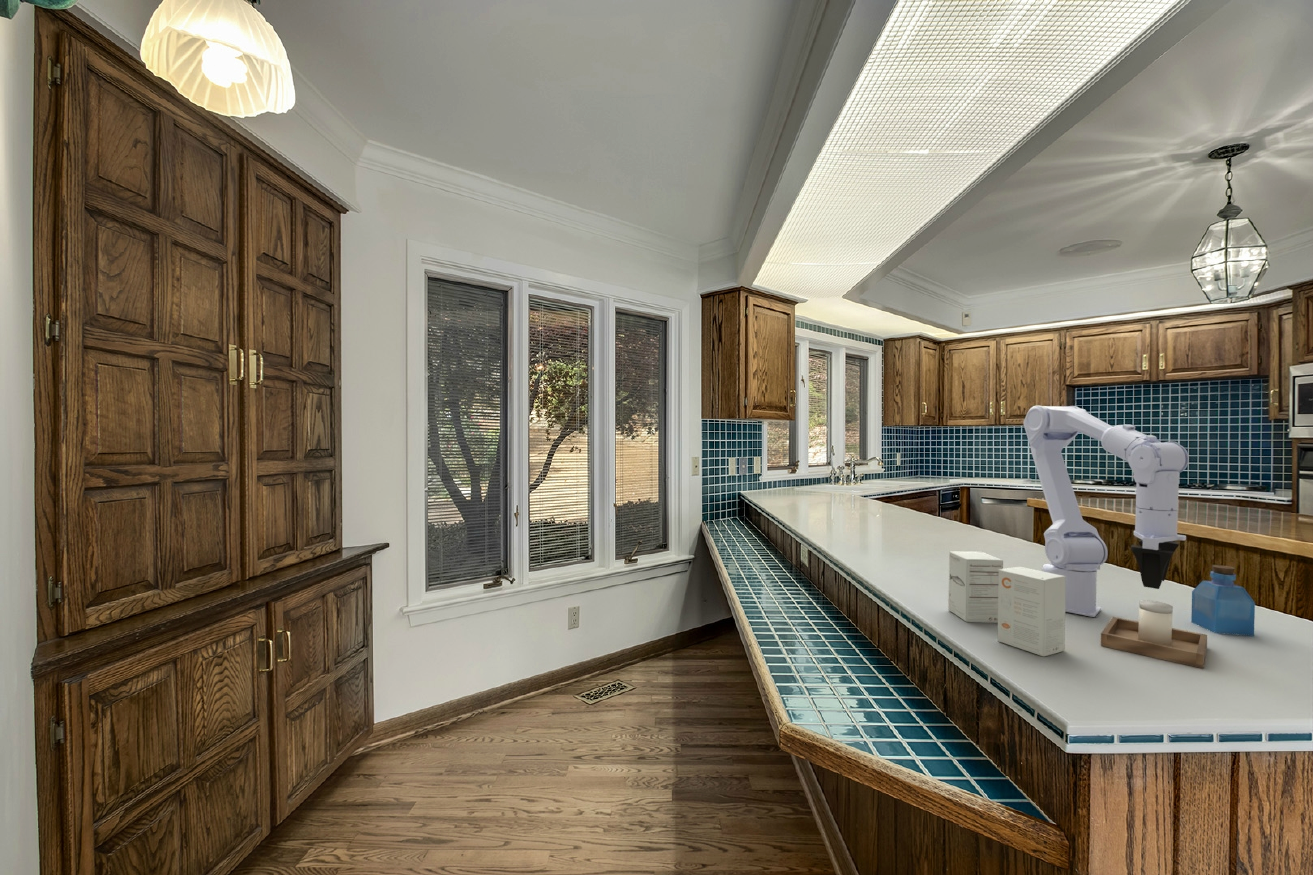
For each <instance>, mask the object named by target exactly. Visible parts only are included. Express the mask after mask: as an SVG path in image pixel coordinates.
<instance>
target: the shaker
mask: <svg viewBox="0 0 1313 875" xmlns="http://www.w3.org/2000/svg"><path fill="white" fill-rule="evenodd" d="M1138 605H1139V606H1138V622H1139V626H1138V640H1142V641H1146V642H1151V643H1156V644H1161V645H1165V646H1170V647H1171V637H1172V628H1173V614H1174V612H1173V609H1174V607H1173V605H1171V604H1169V603H1165V602H1162V601H1156V600H1149V599H1146V600H1145V599H1144V600H1143V599H1141V600H1139V604H1138Z"/></svg>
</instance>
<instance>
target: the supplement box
mask: <svg viewBox="0 0 1313 875" xmlns="http://www.w3.org/2000/svg"><path fill="white" fill-rule="evenodd" d="M948 562H949V563H948V565H949V566H948V600H947V601H948V606H947V608H948V611H949V612H951V613H953V614H954V615H956V616H957V617H959V618H960V619H961V620H963V621H964V622H967V623H989V624H990V623H994V624H998V570H999V569H1004V560H1003V559H1002V558H1001V559H1000V558H999V557H996V556H994V555H991V554H988V553H986V552H984V551H971V550H970V551H969V550H967V551H961V550H960V551H958V550H957V551H954V550H951V551H949V561H948Z"/></svg>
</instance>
